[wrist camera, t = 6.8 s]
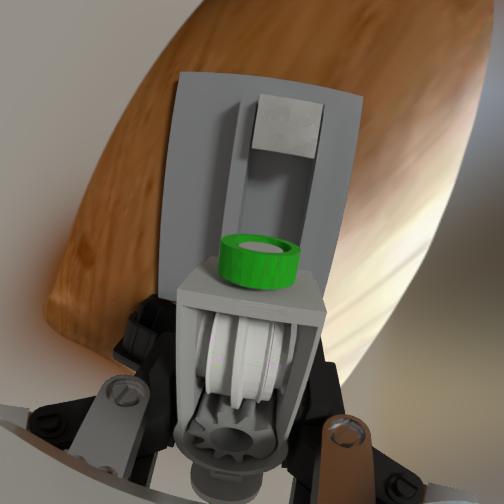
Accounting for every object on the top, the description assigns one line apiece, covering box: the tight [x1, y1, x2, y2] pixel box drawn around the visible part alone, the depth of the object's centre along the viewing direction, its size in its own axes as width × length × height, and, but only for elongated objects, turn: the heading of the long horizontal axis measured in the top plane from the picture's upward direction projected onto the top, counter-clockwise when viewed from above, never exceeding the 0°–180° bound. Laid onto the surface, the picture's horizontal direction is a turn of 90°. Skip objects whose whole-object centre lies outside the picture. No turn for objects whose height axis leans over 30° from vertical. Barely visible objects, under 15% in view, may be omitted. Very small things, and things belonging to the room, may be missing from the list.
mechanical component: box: [173, 234, 327, 504], centre depth 11 cm, size 3×10×10 cm, turn 173°
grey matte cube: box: [252, 94, 323, 159], centre depth 21 cm, size 4×4×4 cm
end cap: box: [113, 294, 177, 372], centre depth 28 cm, size 10×7×7 cm
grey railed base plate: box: [158, 72, 363, 302], centre depth 23 cm, size 22×16×5 cm
